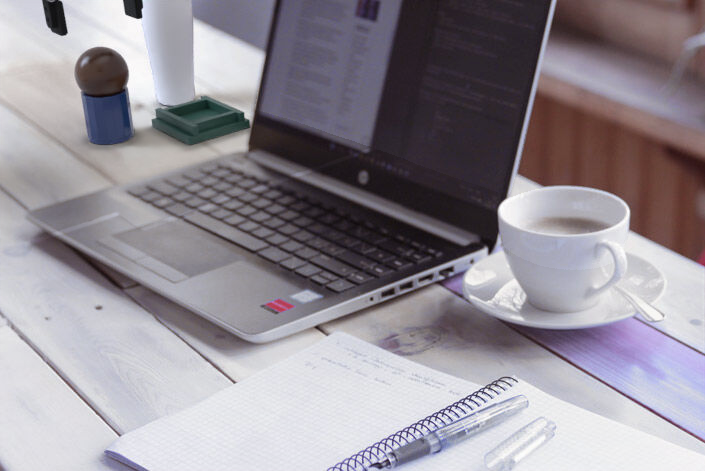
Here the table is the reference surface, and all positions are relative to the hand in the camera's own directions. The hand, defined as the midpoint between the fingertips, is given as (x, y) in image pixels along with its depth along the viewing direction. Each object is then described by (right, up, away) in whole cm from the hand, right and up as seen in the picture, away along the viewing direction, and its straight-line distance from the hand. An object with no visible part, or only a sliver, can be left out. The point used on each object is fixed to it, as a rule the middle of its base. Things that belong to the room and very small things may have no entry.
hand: (97, 25), depth 113 cm
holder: (+11, -11, +9) cm, 18 cm away
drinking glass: (+6, -7, +18) cm, 20 cm away
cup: (0, -12, +6) cm, 14 cm away
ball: (0, -5, +3) cm, 6 cm away
